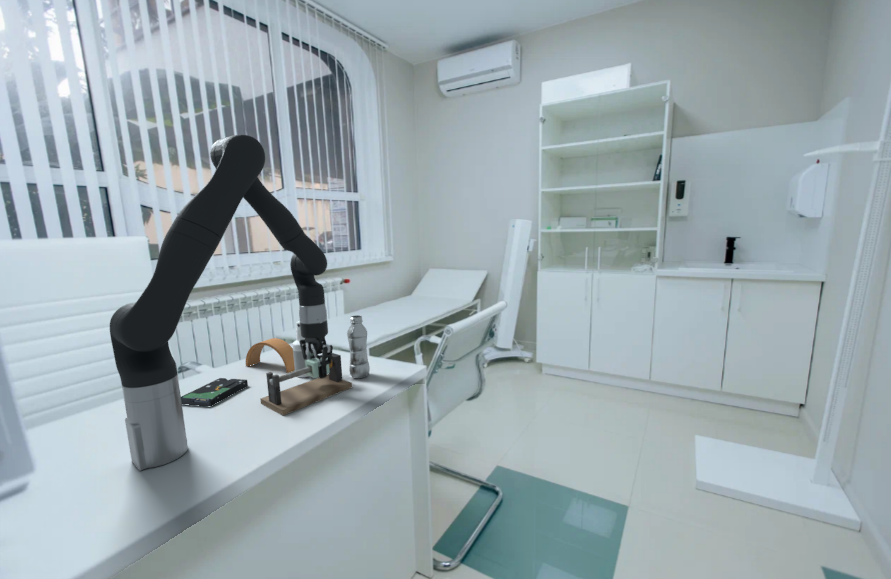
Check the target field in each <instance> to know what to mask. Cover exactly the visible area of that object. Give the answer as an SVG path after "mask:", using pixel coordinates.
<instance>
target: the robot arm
mask: <svg viewBox="0 0 891 579" xmlns="http://www.w3.org/2000/svg"><path fill="white" fill-rule="evenodd" d="M209 155H210V156H209V158H210V160H211V163H212V165H213V166H214V168H215V171H214V173H213V175H212V176H211V178H209V181H208V182H207V183H206V184H205V185H204V186H203V188H201V189H200V190H199V191H198V192H197V193H196V194H195V195H194V196H193V197H192V198H191V199H190V200H189V201H188V202H187V203H186V204H185V205H184V206H183V207H182V209H181V210H180V211H179V213H177V216H176V217H175V219H174V220H173V222H172V223H171V226H170V227H169V229H168V231H167V232H166V234H165V236H164V239H163V241H162V243H161V247H160V249H159V253H158V256H157V261H156V266H155V270H154V272H153V275H152V277H151V279H150V281H149V282H148V285H147V286H146V287H145V289H144V290H143V292H142V293H141V295H140V296H139V298H137V301H135V302H130V303H126V304H125V305H121V307H119V308H118V309H117V310H116V311H115V312H114V313H113V314H112V316H111V317H110V321H109V335H110V341H111V346H112V352H113V357H114V362H115V367H116V369H117V372H118V375H119V378H120V383H121V388H122V395H123V401H124V405H125V406H124V407H125V408H124V409H125V414H126V417H125V419H124V424H125V428H126V434H127V440H128V446H129V452H130V454H129V455H130V458H131V462H132V463H133V464H134V466H135V467H136V468H137V470H138V471H139V472H140V471H144V470H146V469H151V468H155V467H160V466H164V465H167V464H169V463H172V462H174V461H175V460H177V459H179V458H180V457H182V456H184V455H185V454H186V452H187V451H188V448H189V445H188V438H187V432H186V425H185V424H186V423H185V419H184V410H183V405H182V402H181V397H182V396H181V389H180V382H179V376H178V375H179V374H178V368H177V367H178V365H177V363H176V360H175V359H174V357H173V355H172V352H171V349H170V344H169V341H170V340H171V339H172V337H173V336H174V334H175V332H176V329H177V327H178V325H179V322H180V319H181V317H182V314H183V311H184V309H185V307H186V305H187V301H188V300H189V297H190V295H191V294H192V291H193V289H194V288H195V286H196V284H197V282H198V281H199V280H200V278H201V276H202V275H203V273H204V271H205V268H206V267H207V265H208V263H209V261H210V260H211V258H212V256H213V255H214V253H215V252H216V250H217V248H218V246H219V244H220V243H221V240H222V239H223V237H224V234H225V232H226V231H227V229H228V227H229V225H230V223H231V221H232V219H233V217H234V216H235V214H236V212H237V210H238V208H239V206H240V203H241V202H242V200H243V199H244V200H245V201H246V202H247V203H248V205H250V207H251V208H252V209H253V210H254V211H255V213H256V214H257V215H258V216H259V218H260V219H261V220H262V222H263V223H264V224H265V226H266V227H267V228H268V229H269V231H270V232H271V234H272V235H273V236H274V237H275V239H276V241H277V243H279V245H280V246H281V247H282V249H284V250H285V251H288V252H290V253H293V254H292V256H291V258H290V264H289V265H290V272H291V275H292V277H293V281H294V284H295V286H296V289H297V292H298V295H297V296H298V304H299V307H298V308H299V310H298V317H299V321H300V329H301V336H302V337H303V338H305V339H303V340H300V341H299V342H300V346H301V350H302V355H303V358H304V360H305V359H306V360H309V359H312V358H315V359H317V362H318V371H319V377H318V378H321V379H322V378H325V377H326V376H327V375H328V374H327V369H326V365H327V364H330V363H331V359H332V353H333V349H334V348H333V347H334V346H333V345H332V344H330V345H329V344H328V343H327V341H326V336H327V335H328V334H329V326H328V324H329V323H328V315H327V314H328V312H327V307H326V296H325V288H324V286H323V284H321V283H319V282H318V281H317V280H316V278H315V276H320V275H322V274H323V273H325V272H326V270H327V268H328V260H327V257H326V254H325V253H324V251H323V250H322V249H321V248H320V247H319V246H318V245H317V244H316V243H315V242H314V241H313V239H311V238H310V237H309V236H308V235H307V234H306V233H305V231H304V230H303V228H302V226H301V225H300V223H299V222H298V220H297V219H296V217H295V216H294V215H293V213H292V212H291V210H289V209H288V208H287V207H286V205H284V204H283V203H282V202H281V201H280V200H278V199H277V197H276V196H274V195H273V194H272V193H271V192H270V191H269V190H268V189H267V188H266V187H265V185H264V184H263V182H262V181H261V180H260V179H259V175H260V174H261V172H262V171H263V170H264V168H265V167H264V166H265V164H266V153H265V149H264V147H263V145H262V143H261V142H260V141H259V140H258V139H257V138H255V137H253V136H250V135H248V134H247V135H246V134H235V135H234V134H233V135H231V136H226V137H224V138H220V139H217V140H216V141H215V142H214V143H212V145H211V147H210V151H209ZM305 346H306V347H305ZM305 351H306V352H305ZM320 358H322V362H321V359H320ZM327 358H328V359H327Z"/></svg>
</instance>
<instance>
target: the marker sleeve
mask: <svg viewBox="0 0 891 579" xmlns="http://www.w3.org/2000/svg"><path fill="white" fill-rule="evenodd" d="M320 359H321V362H322V358H320ZM327 359H328V358H327ZM305 366H306V368H307V367H310V366H312V372H309V373H306V375H308V376H310V377H311V378H313V379H317V378H319V371H318V362H317V359H315V358H312V359H309V360H305ZM326 369H327V375H328V374H329V373H330V371H329V364H327V365H326Z"/></svg>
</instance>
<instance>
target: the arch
mask: <svg viewBox="0 0 891 579" xmlns="http://www.w3.org/2000/svg"><path fill="white" fill-rule="evenodd" d="M265 346H266V347H269V348H271V349H273V350H274V351H275V352H277V354H278V355H279V356H280V358H281V360H282V362H283V364H284V367H285V370H286V371H285V372H286V373H285V374H288V373H289V372H290V373H291V371H292V372H294V371H295V366H294V355H293V346H291V344H289V343H288V342H287V341H285V340H283V339H280V338H275V337H274V338H269V339H266V340H262V341H260V342H257V343H255V344H253V345H252V346H251V347H249V349H248V350H247V353H246V356H245V367H246V366H249V367H251V366H250V365H252V366H254V365H253V364H255V365H257V364H259V363H261V354H262V351H263V349H264V347H265ZM258 362H259V363H258ZM256 363H257V364H256Z"/></svg>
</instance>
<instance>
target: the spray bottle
mask: <svg viewBox="0 0 891 579" xmlns="http://www.w3.org/2000/svg"><path fill="white" fill-rule="evenodd" d="M295 327H296V328H295V333H296V334H295V336H296V340H294V341H293V342H292V348H293V355H294V366H295V370H294V371H297V370H300V369H303V368H306V366H305V360H306V359H305V360H304V358H303V355H302V350H301V346H300V342H299V341H300V340H303V339H305V338H303V337H302V336H301V329H300V320H298V321H296V322H295ZM305 347H306V346H305ZM305 352H306V351H305ZM309 377H310V376H308V375H306V374H303V375H300V376H297V377H296V378H300V379H301V378H309Z"/></svg>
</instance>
